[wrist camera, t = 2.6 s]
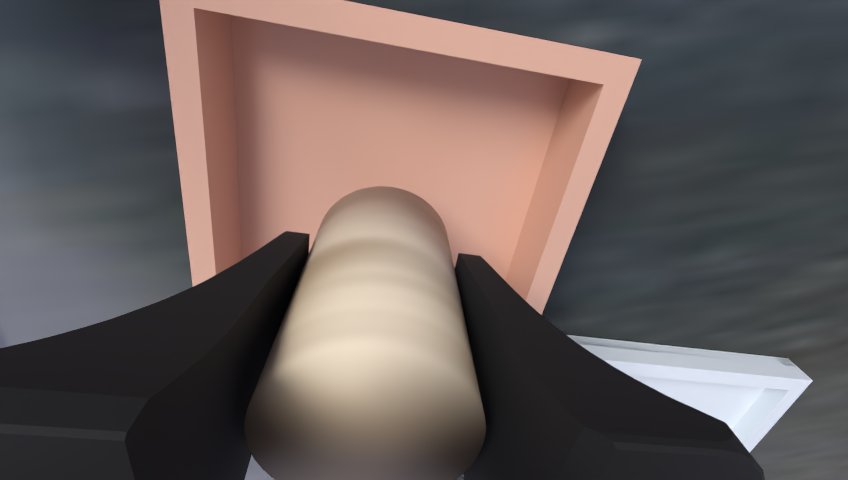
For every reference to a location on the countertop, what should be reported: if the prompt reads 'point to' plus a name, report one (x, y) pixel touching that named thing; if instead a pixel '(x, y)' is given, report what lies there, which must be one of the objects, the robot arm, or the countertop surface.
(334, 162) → the pink square tray
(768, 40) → the countertop surface
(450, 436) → the birch peg
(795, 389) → the white tray
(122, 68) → the countertop surface
